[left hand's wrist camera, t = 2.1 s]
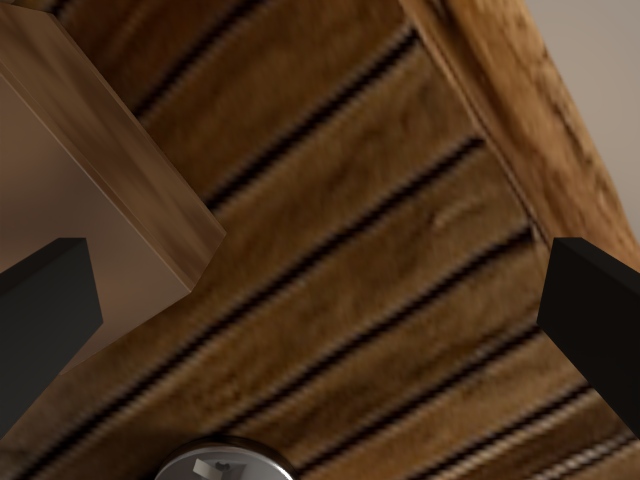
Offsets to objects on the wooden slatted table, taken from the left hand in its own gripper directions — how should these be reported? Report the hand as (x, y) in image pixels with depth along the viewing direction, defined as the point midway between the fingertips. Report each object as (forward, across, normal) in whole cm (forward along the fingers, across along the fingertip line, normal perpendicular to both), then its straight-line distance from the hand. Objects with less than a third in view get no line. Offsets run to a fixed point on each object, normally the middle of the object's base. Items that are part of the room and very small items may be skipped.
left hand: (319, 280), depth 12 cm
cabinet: (+21, +17, +1) cm, 27 cm away
